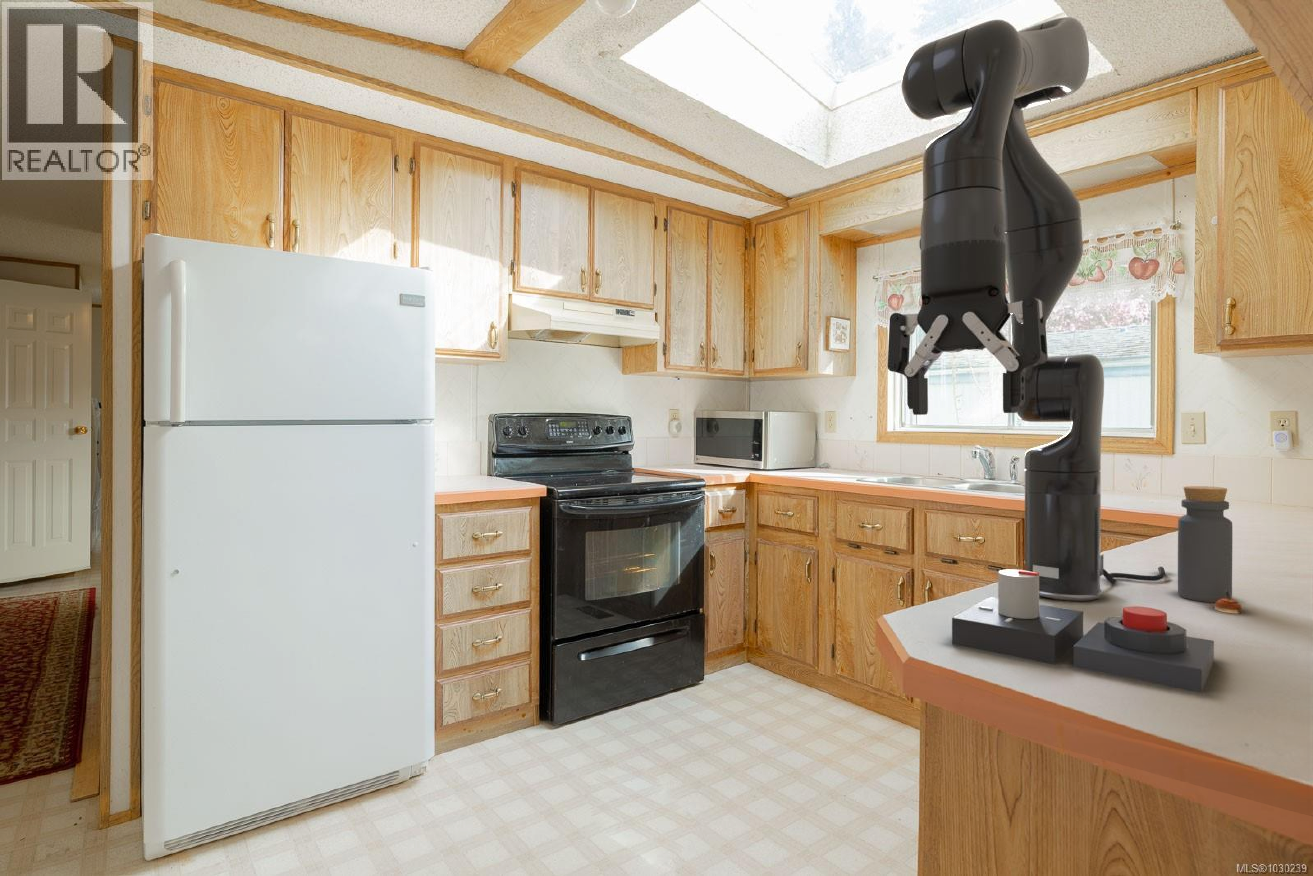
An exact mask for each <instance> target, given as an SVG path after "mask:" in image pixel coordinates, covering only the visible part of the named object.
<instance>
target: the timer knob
mask: <svg viewBox="0 0 1313 876" xmlns="http://www.w3.org/2000/svg"><path fill="white" fill-rule="evenodd" d="M997 574H998V575H997V577H998V579H997V582H998V583H997V584H998V586H997V595H998V596H997V598H998V612H999V613H1000V614H1002V615H1004V616H1008V617H1012V618H1020V619H1033V618H1038V617H1039V605H1040V596H1039V573H1038V572H1031V571H1025V570H1024V569H1000V570H999V571H998V572H997Z"/></svg>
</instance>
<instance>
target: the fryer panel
mask: <svg viewBox="0 0 1313 876" xmlns="http://www.w3.org/2000/svg"><path fill="white" fill-rule="evenodd" d="M1083 636H1084V611H1082V610H1076V609H1070V608H1063V607H1057V606H1050V605H1044V604H1039V617H1038V618H1033V619H1020V618H1012V617H1008V616H1004V615H1002V614H1000V613H999V612H998V597H992V596H988V597H986V598H984V599H983V600H980V601H979V602H977V603H976V604H974V605H972V606H970V607H969V608H967V609H965V610H963V611H961V612H960V613H958V614H956V615H954V616H952V617H951V644H952V645H955V646H960V647H965V648H970V649H975V650H980V651H984V652H989V653H995V654H1000V655H1004V656H1009V657H1014V658H1019V659H1024V660H1029V661H1035V662H1039V663H1045V664H1049V665H1054V666H1055V665H1056V664H1057V663H1058V662H1060V661H1061V660H1062V658H1063V657H1065V656H1066V655H1067V654H1068V653H1069V652H1070V651H1071V650H1072V649H1073V646H1074V645H1075V644H1076V643H1077V642H1078V641H1079V640H1080V639H1081V638H1082V637H1083Z"/></svg>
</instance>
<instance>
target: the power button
mask: <svg viewBox="0 0 1313 876" xmlns="http://www.w3.org/2000/svg"><path fill="white" fill-rule="evenodd" d="M1122 616H1123V626H1126V627H1130V628H1133V629H1139V630H1145V631H1167V622H1168V613H1167V612H1166V611H1164V610H1161V609H1157V608H1153V607H1148V606H1136V605H1135V606H1134V605H1133V606H1130V605H1129V606H1124V607H1123V608H1122Z"/></svg>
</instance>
